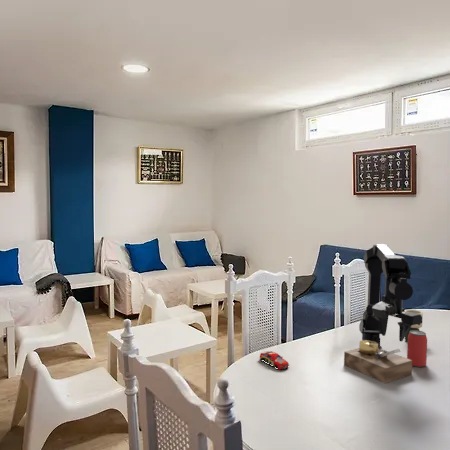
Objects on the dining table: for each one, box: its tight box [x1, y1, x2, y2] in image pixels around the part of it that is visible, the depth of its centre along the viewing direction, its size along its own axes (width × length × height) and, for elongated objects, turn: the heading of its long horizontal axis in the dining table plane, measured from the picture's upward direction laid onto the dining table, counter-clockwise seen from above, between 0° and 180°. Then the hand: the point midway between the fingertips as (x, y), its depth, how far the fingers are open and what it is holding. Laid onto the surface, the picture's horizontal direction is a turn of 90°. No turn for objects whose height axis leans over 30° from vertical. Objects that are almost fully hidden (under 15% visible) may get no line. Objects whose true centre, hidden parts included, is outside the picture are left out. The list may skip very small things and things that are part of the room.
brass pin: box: [358, 339, 378, 356], centre depth 157 cm, size 6×6×8 cm
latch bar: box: [378, 348, 401, 358], centre depth 149 cm, size 8×3×2 cm, turn 31°
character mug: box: [404, 309, 424, 341], centre depth 185 cm, size 11×7×13 cm, turn 140°
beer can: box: [406, 330, 428, 368], centre depth 159 cm, size 7×7×12 cm
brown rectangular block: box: [343, 347, 413, 384], centre depth 153 cm, size 18×14×7 cm
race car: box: [259, 351, 290, 370], centre depth 158 cm, size 13×5×4 cm, turn 31°
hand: (392, 338), depth 148 cm, fingers open, 7 cm apart
